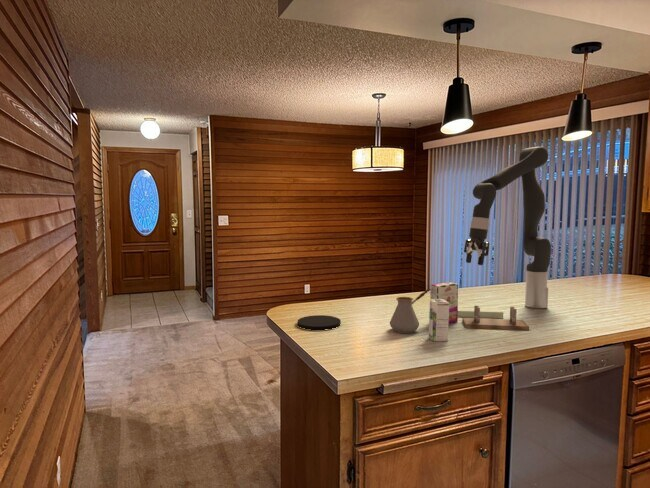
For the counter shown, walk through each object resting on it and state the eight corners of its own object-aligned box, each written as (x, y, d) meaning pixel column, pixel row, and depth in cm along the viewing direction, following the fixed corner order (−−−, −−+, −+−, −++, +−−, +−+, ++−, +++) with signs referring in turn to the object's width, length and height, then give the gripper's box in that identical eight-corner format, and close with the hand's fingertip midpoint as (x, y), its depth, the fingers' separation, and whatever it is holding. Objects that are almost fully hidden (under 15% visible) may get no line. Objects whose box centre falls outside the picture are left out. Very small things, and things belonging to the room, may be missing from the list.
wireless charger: (336, 318, 198) (336, 314, 198) (344, 330, 181) (344, 325, 181) (295, 321, 195) (295, 316, 195) (300, 332, 178) (300, 327, 178)
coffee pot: (405, 336, 171) (405, 297, 169) (383, 330, 180) (383, 292, 178) (441, 326, 184) (441, 290, 182) (419, 321, 193) (419, 286, 191)
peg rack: (522, 323, 188) (523, 305, 187) (529, 330, 178) (529, 311, 178) (462, 321, 192) (462, 303, 191) (465, 327, 182) (466, 309, 182)
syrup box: (428, 337, 170) (428, 298, 169) (443, 336, 171) (444, 298, 169) (433, 341, 164) (433, 302, 163) (448, 341, 165) (449, 301, 164)
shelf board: (500, 315, 203) (500, 309, 203) (503, 319, 197) (503, 312, 197) (453, 314, 206) (453, 307, 206) (455, 317, 200) (455, 310, 200)
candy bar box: (449, 319, 195) (450, 281, 194) (457, 322, 191) (458, 283, 189) (429, 322, 190) (429, 284, 189) (437, 325, 186) (438, 286, 184)
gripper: (496, 229, 198) (491, 266, 199) (476, 228, 211) (471, 262, 212) (482, 227, 195) (477, 265, 196) (462, 226, 209) (457, 261, 210)
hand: (474, 263), depth 204 cm, fingers open, 8 cm apart
